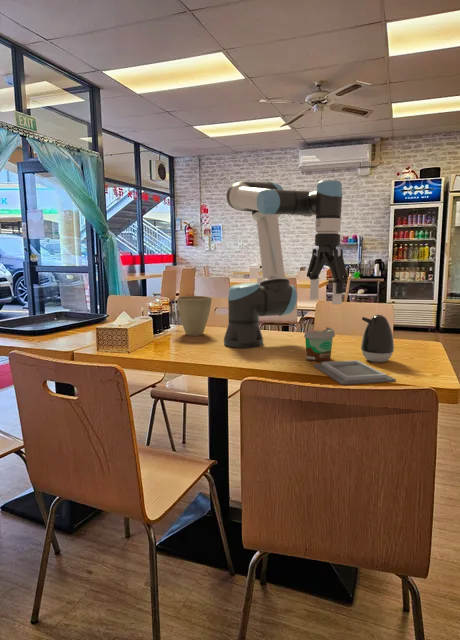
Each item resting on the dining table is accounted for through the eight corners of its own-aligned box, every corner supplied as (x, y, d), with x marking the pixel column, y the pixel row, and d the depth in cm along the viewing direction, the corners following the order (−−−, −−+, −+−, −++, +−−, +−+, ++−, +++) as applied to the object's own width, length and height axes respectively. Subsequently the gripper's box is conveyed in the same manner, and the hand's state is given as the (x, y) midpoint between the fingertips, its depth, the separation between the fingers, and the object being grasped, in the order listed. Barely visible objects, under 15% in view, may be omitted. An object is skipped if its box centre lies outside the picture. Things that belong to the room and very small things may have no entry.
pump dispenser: (357, 356, 152) (359, 312, 150) (388, 357, 151) (391, 312, 149) (363, 364, 142) (365, 316, 140) (396, 364, 141) (399, 317, 138)
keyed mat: (313, 366, 139) (313, 361, 139) (360, 363, 142) (361, 358, 142) (341, 384, 120) (341, 378, 119) (395, 381, 123) (396, 375, 122)
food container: (318, 365, 141) (319, 333, 139) (303, 361, 145) (304, 331, 144) (341, 358, 149) (342, 329, 147) (326, 355, 153) (327, 327, 152)
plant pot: (179, 338, 185) (179, 299, 182) (175, 331, 199) (175, 296, 196) (215, 336, 188) (214, 298, 186) (208, 330, 202) (208, 295, 200)
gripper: (297, 233, 147) (295, 297, 151) (339, 231, 124) (336, 307, 127) (317, 234, 150) (315, 297, 153) (362, 232, 126) (358, 306, 130)
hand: (324, 301), depth 140 cm, fingers open, 13 cm apart
